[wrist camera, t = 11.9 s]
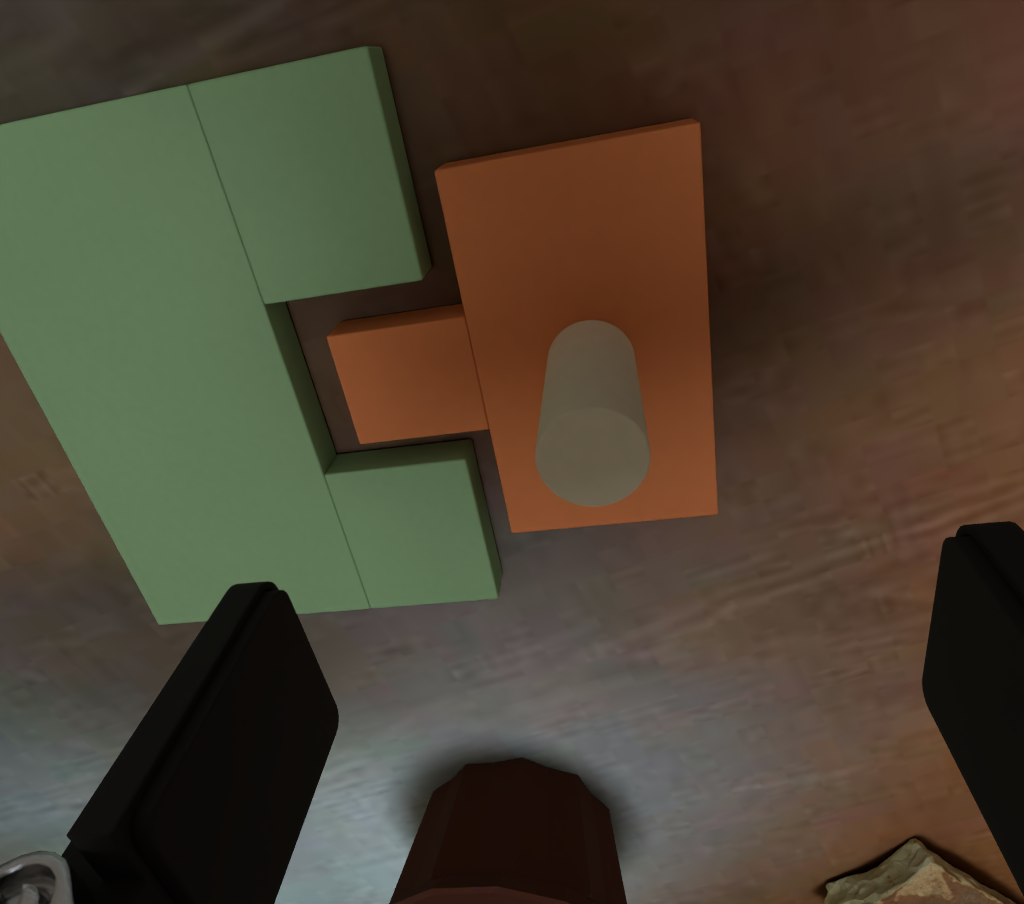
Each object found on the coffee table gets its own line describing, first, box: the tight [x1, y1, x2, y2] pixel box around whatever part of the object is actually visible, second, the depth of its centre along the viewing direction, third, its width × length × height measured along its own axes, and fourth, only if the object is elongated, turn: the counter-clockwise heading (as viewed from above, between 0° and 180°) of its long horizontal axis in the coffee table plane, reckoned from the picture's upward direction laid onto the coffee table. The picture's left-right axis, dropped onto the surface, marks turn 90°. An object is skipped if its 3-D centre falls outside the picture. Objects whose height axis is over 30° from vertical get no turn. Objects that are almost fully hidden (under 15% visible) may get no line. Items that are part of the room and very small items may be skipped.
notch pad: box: [0, 46, 502, 625], centre depth 24 cm, size 18×14×2 cm
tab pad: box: [327, 118, 718, 533], centre depth 20 cm, size 12×11×8 cm
